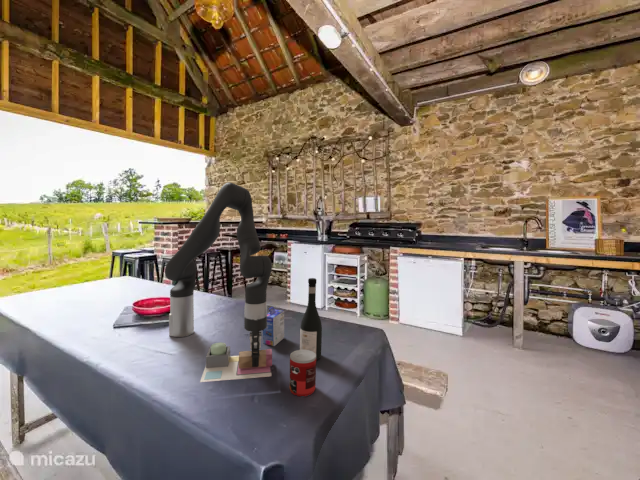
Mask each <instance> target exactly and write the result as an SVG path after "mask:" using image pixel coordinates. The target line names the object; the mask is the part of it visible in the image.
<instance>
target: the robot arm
mask: <svg viewBox="0 0 640 480" xmlns="http://www.w3.org/2000/svg"><path fill="white" fill-rule="evenodd" d="M227 208H229V209H232V210H235V211H237V212H238V213H239V216H240V221H239V224H238V226H237V228H236V239H237V243H238V247H239V250H240V251H239V253H240V255H239V256H240V257H239V258H240V259H239V260H240V262H239V272H240V275H241V276H243V277H244V278H245V279H252V278H257V279H256V280H255V281H254V282H251V283H250V284H247V285H246V286H245V289H244V292H245V293H244V296H245V297H244V299H245V300H244V308H243V309H244V311H243V312H244V314H243V317H244V319H243V320H244V323H243V324H244V325H243V326H244V330H245V331H247V332H249V341H250V342H249V343H250V351H252V354H251V356H252V367H258V366H259V356H260V353H259V350H261V347H262V346H261V345H262V340H263V334H262V331H263V330H264V329H266V327H267V313H268V305H267V290H268V285H269V282H270V277H271V274H272V272H273V271H272V270H273V263H272V260H271V258H270V257H269V256H267V255H256V254H258V253H259V252H260V250H261V247H262V246H261V243H260V242H261V241H260V239H259V236H258V233H257V229H256V226H255V218H254V217H255V216H254V210H253V208H254V207H253V200H252V196H251V192H250V191H249V190H248V189H247V188H245V187H243V186H240V185H238V184H236V183H233V182H226V183H224V184H223V185H222V186H221V188H220V189H218V192H217V194H216V196H215V197H214V199H213V200H212V202H211V204H210V206H209V208H207V209H208V210H207V211H206V213H205V214H204V215H203V217H202V218H201V219H200V221H198V223H197V225H196V226H195V227H194V229H193V230H192V231H191V233H190V235H189V236H188V237H187V238H186V240H185V241H184V243H183V244H182V246H181V247H180V248H179V250H177V252H176V253H174V255H173V256H172V257H171V258H170V259H169V260H168V261H167V263H166V265H165V268H164V276H165V277H166V279H167V280H169V281H171V282H177V283H176V284H175V285H173V287H171V289H170V290H169V296H170V297H169V298H170V299H169V301H170V303H169V304H170V307H169V308H170V309H169V310H170V311H169V312H170V313H169V314H168V336H169V337H175V338H184V337H188V336H191V335H193V334H194V332H195V320H194V319H195V316H194V315H195V312H194V310H195V308H194V305H195V304H194V303H195V302H194V300H195V299H194V291H195V289H196V279H197V278H196V277H197V267H196V264H195V261H194V259H196V258H197V257H199V256H200V255H202V254H203V253H205V252H206V251H208V250H209V249H210V248H211V247H212V245H214V244H215V242H216V241H217V239H218V238H219V236H220V233H221V222H220V221H221V216H222V214H223V213H224V211H225V209H227ZM254 255H255V256H254ZM253 352H257V353H253Z"/></svg>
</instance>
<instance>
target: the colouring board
mask: <svg viewBox="0 0 640 480" xmlns="http://www.w3.org/2000/svg"><path fill="white" fill-rule="evenodd" d="M265 377H267V378H269V377H272V366H264V367H252V368H240V369H239V355H230V360H229V365H228V367H215V368H206V365H205V366H204V370H203V372H202V375H201V378H200V381H199V383H206V382H207V383H208V382H210V383H211V382H219V381H220V382H221V381H229V380H230V381H232V380H242V379H243V380H244V379H254V378H255V379H256V378H265Z"/></svg>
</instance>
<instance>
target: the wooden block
mask: <svg viewBox="0 0 640 480" xmlns="http://www.w3.org/2000/svg"><path fill="white" fill-rule="evenodd" d="M272 350H273V349H272V348H266V349H259V353H260V356H259V366H258V367H264V366H271V367H272V366H273V351H272ZM253 353H257V352H253ZM251 354H252V350H245V351H242V350H241V351H239V352H238V356H239V369H240V368H252V356H251Z"/></svg>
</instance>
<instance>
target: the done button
mask: <svg viewBox="0 0 640 480" xmlns="http://www.w3.org/2000/svg"><path fill="white" fill-rule="evenodd" d="M226 346H227V344H226V343H225V342H215V343H212V344H211V345H210V347H211V355H225V354H226Z"/></svg>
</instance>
